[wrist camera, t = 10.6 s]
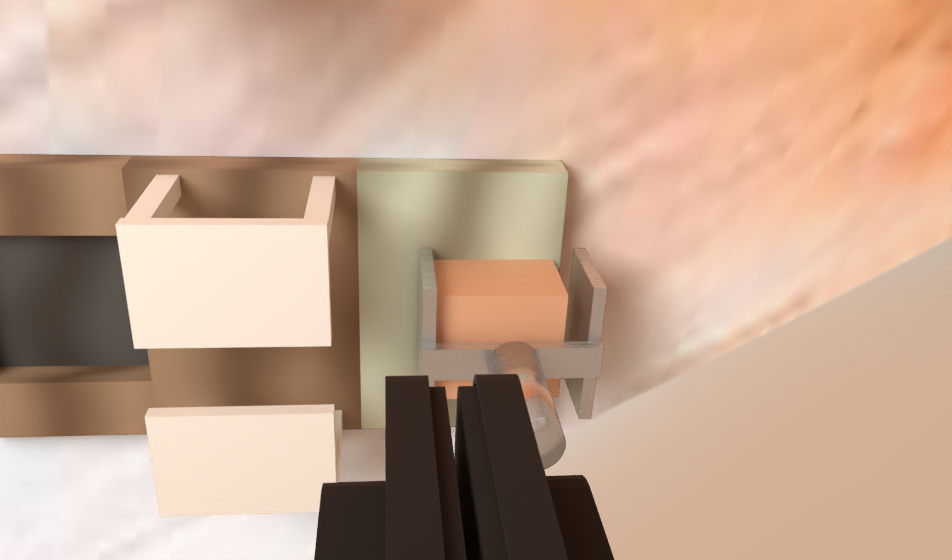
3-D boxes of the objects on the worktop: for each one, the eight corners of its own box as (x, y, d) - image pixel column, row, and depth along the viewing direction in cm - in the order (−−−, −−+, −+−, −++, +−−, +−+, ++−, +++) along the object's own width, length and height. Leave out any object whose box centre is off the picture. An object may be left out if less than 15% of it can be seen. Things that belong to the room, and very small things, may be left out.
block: (552, 259, 42) (568, 295, 39) (543, 354, 44) (558, 396, 41) (432, 259, 41) (437, 296, 38) (430, 356, 44) (434, 399, 40)
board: (560, 160, 42) (568, 173, 40) (538, 404, 48) (544, 424, 46) (-83, 153, 39) (-105, 166, 37) (-17, 415, 45) (-33, 438, 43)
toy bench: (335, 172, 39) (326, 225, 33) (342, 428, 45) (336, 511, 39) (155, 170, 38) (115, 224, 32) (188, 432, 44) (159, 517, 39)
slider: (585, 248, 42) (650, 367, 32) (572, 369, 45) (627, 513, 35) (419, 248, 41) (431, 371, 31) (417, 371, 44) (428, 520, 34)
